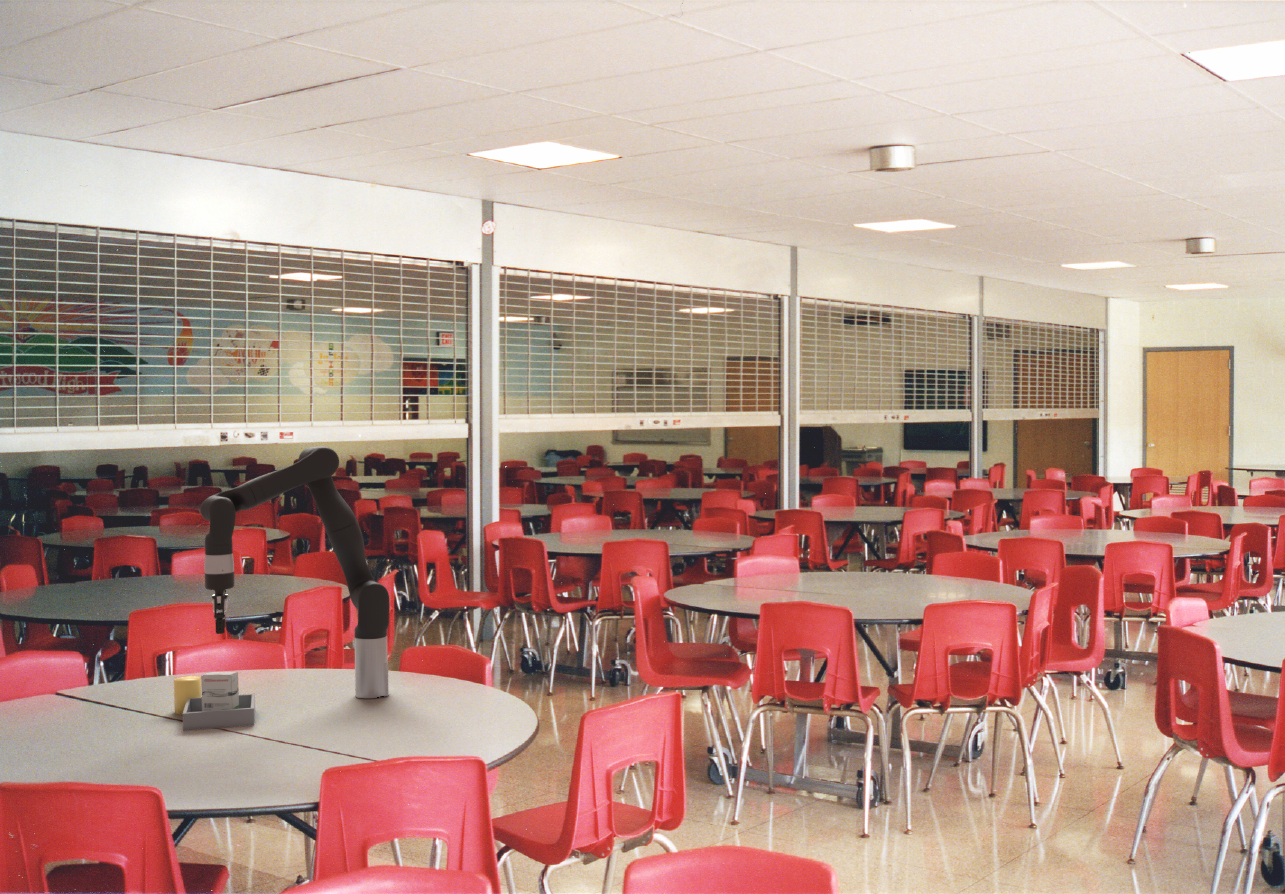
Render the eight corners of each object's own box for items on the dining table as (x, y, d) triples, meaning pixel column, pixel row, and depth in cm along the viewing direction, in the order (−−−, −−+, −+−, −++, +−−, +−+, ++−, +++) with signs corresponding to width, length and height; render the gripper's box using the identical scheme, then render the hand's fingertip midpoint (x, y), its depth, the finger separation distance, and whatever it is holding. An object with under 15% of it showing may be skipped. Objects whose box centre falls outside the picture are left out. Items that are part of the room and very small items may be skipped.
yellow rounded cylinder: (202, 707, 341) (201, 675, 341) (200, 713, 334) (200, 680, 334) (175, 709, 339) (175, 677, 339) (173, 715, 332) (172, 682, 332)
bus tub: (255, 709, 338) (254, 693, 338) (254, 725, 321) (253, 708, 321) (187, 714, 333) (187, 698, 333) (183, 730, 316) (182, 713, 316)
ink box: (240, 714, 329) (239, 671, 329) (232, 719, 324) (232, 674, 324) (208, 714, 330) (208, 670, 329) (201, 718, 325) (200, 674, 324)
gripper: (233, 573, 321) (234, 634, 321) (234, 566, 334) (236, 625, 335) (203, 574, 318) (204, 636, 319) (205, 568, 332) (207, 627, 332)
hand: (220, 630), depth 327 cm, fingers open, 8 cm apart
